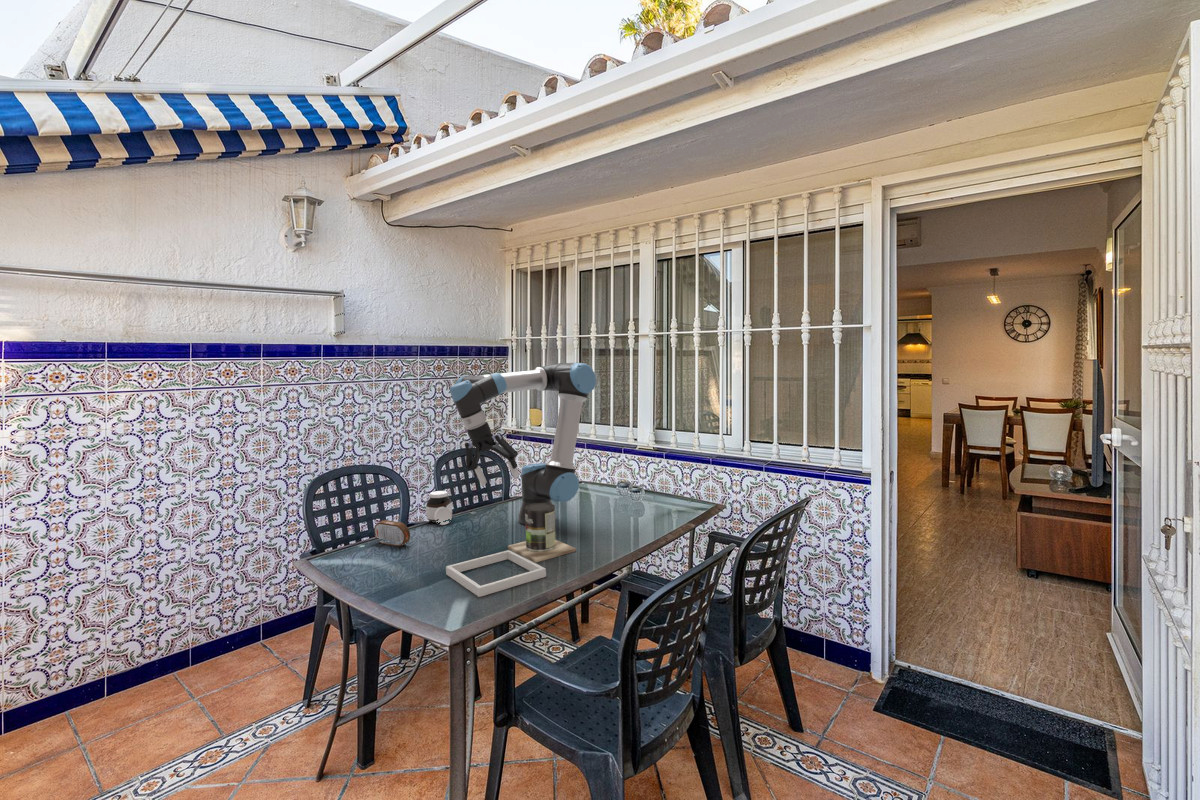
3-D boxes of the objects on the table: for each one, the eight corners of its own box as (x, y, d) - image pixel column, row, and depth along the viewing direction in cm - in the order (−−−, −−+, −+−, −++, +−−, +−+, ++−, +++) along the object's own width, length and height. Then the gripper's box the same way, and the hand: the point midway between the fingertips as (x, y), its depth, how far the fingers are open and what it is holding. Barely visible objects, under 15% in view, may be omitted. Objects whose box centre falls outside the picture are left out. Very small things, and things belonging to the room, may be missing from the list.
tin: (411, 545, 200) (410, 522, 200) (404, 548, 198) (403, 525, 197) (379, 540, 207) (378, 518, 206) (373, 543, 204) (371, 520, 203)
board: (507, 548, 195) (507, 545, 195) (546, 538, 205) (546, 535, 205) (535, 562, 181) (535, 559, 181) (575, 551, 191) (575, 548, 191)
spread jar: (440, 516, 237) (439, 489, 236) (462, 519, 232) (461, 491, 232) (420, 524, 227) (419, 495, 226) (442, 527, 222) (441, 498, 221)
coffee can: (531, 554, 186) (530, 512, 185) (522, 545, 196) (520, 505, 195) (560, 549, 191) (559, 508, 190) (550, 540, 200) (548, 501, 199)
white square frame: (446, 574, 173) (445, 566, 173) (509, 557, 187) (509, 549, 186) (479, 597, 156) (478, 588, 156) (545, 576, 170) (545, 568, 169)
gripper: (441, 437, 193) (465, 491, 197) (502, 421, 183) (526, 478, 188) (453, 429, 199) (476, 482, 204) (512, 413, 190) (535, 468, 195)
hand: (500, 480), depth 196 cm, fingers open, 13 cm apart
